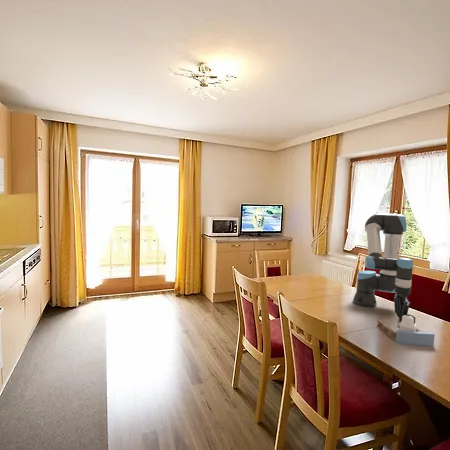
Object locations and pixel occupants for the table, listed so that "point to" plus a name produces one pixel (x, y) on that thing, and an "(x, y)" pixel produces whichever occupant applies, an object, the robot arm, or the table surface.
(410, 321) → the medicine bottle
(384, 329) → the guide channel
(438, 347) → the table surface
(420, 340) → the end stop
